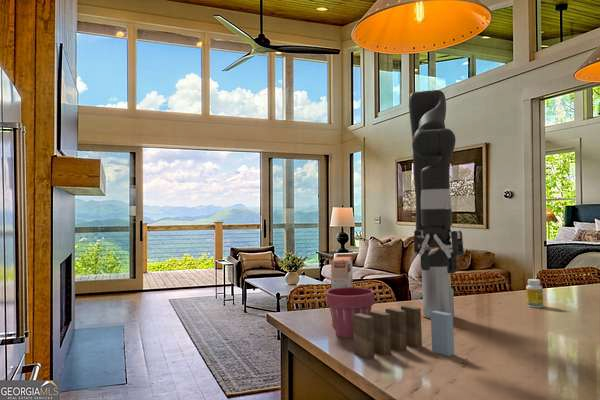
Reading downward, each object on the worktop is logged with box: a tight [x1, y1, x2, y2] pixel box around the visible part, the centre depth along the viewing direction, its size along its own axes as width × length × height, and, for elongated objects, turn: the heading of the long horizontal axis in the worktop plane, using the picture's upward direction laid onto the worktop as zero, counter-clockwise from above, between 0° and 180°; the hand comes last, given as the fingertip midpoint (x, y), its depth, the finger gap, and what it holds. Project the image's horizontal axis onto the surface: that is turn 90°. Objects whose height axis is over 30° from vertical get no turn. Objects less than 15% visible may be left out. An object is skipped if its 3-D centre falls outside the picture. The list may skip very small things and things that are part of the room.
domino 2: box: [370, 310, 392, 356], centre depth 121 cm, size 2×5×10 cm, turn 32°
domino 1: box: [353, 313, 375, 360], centre depth 119 cm, size 2×5×10 cm, turn 31°
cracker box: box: [330, 256, 354, 327], centre depth 156 cm, size 14×6×21 cm, turn 168°
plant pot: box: [325, 286, 375, 339], centre depth 140 cm, size 14×14×13 cm
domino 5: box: [430, 311, 455, 357], centre depth 119 cm, size 2×5×10 cm, turn 31°
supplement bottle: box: [525, 278, 544, 308], centre depth 171 cm, size 5×5×10 cm
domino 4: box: [400, 304, 423, 348], centre depth 127 cm, size 2×5×10 cm, turn 31°
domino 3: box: [384, 307, 408, 352], centre depth 124 cm, size 2×5×10 cm, turn 31°
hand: (438, 271), depth 120 cm, fingers open, 8 cm apart
